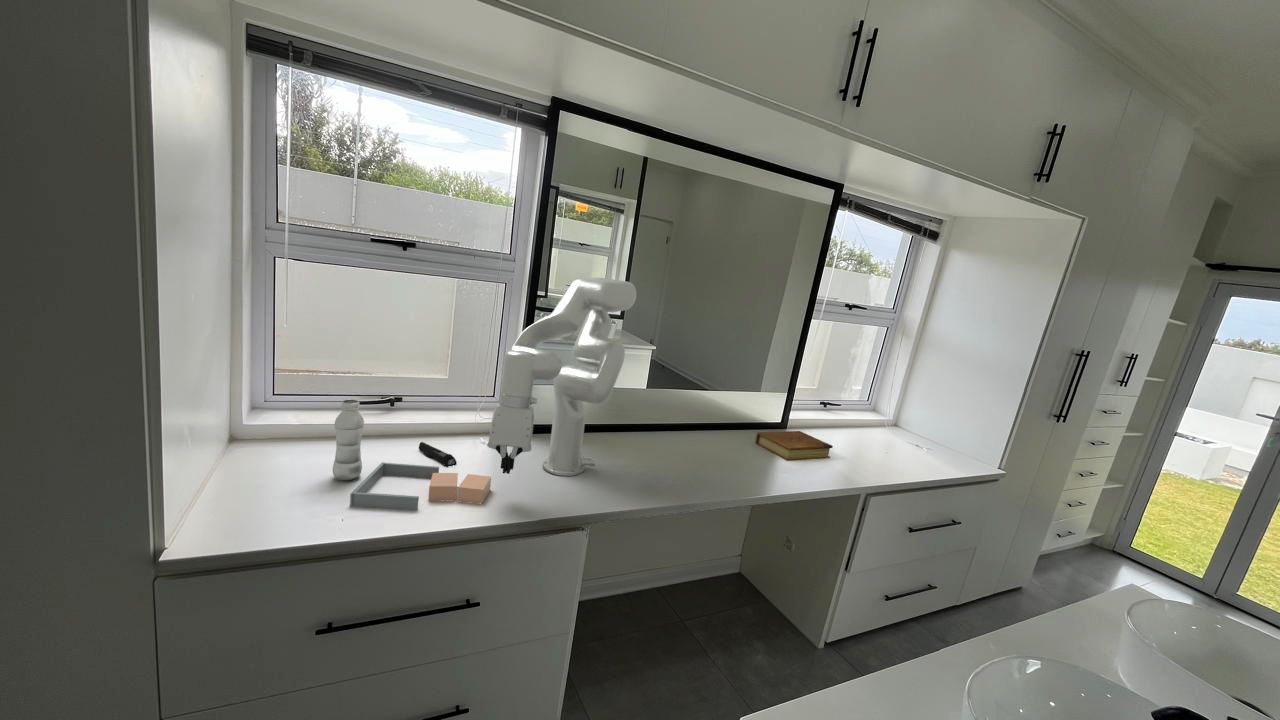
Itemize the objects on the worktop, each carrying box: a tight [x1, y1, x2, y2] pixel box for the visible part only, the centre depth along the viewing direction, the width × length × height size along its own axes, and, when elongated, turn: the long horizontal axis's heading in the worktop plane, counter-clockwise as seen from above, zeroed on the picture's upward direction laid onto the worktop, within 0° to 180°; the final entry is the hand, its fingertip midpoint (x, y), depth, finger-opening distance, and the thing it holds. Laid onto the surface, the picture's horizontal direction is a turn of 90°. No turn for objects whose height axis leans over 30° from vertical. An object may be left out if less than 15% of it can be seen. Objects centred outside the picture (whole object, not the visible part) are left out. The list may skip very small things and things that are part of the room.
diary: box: [754, 430, 834, 462], centre depth 197 cm, size 23×19×6 cm
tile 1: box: [427, 472, 459, 502], centre depth 122 cm, size 6×8×4 cm
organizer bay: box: [349, 462, 440, 511], centre depth 120 cm, size 14×18×3 cm
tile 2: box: [456, 473, 492, 505], centre depth 123 cm, size 6×8×4 cm
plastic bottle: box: [332, 399, 365, 481], centre depth 122 cm, size 6×7×20 cm
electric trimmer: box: [418, 441, 457, 468], centre depth 143 cm, size 4×16×3 cm, turn 55°
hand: (506, 471), depth 123 cm, fingers closed
